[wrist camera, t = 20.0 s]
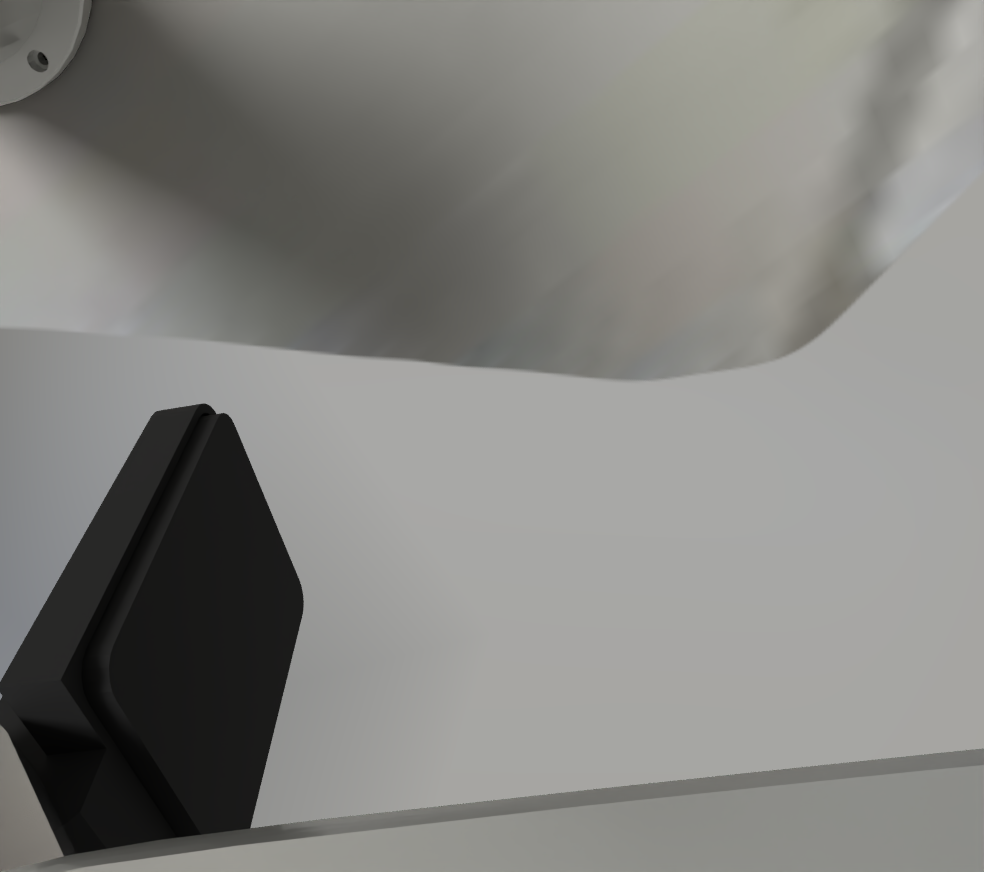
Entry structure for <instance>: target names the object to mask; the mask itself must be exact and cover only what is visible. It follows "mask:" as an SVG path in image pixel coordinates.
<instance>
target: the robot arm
mask: <svg viewBox="0 0 984 872" xmlns="http://www.w3.org/2000/svg"><path fill="white" fill-rule="evenodd" d="M91 6H92V0H0V106H2V105H6V104H9V103H13V102H17V101H20V100H22V99H24V98H26V97H28V96H30V95H31V94H33V93H35V92H37V91H39V90H41V89H42V88H43V87H45V86H46V85H47V84H49V83H50V82H51V81H53V80H54V79H55V78H57V77H58V76H59V75H60V74H61V73H62V71H63V70H64V69H65V68H66V66H67V65H68V64H69V63H70V61H71V60H72V59H73V58H74V56H75V54H76V52H77V50H78V48H79V46H80V44H81V42H82V39H83V37H84V35H85V33H86V28H87V24H88V20H89V15H90V11H91ZM42 53H43V54H44V55H45V56H46V58H47V59H48V62H47V61H45V60H44V58H43V57H42ZM303 602H304V601H303V593H302V587H301V584H300V581H299V578H298V576H297V573H296V571H295V569H294V566H293V564H292V561H291V559H290V557H289V554H288V552H287V550H286V547H285V545H284V542H283V540H282V537H281V535H280V533H279V531H278V528H277V526H276V523H275V521H274V519H273V516H272V514H271V511H270V509H269V506H268V504H267V502H266V499H265V497H264V494H263V492H262V490H261V487H260V485H259V482H258V481H257V478H256V475H255V473H254V470H253V468H252V466H251V463H250V461H249V458H248V456H247V454H246V451H245V449H244V446H243V444H242V442H241V439H240V437H239V435H238V432H237V430H236V427H235V425H234V423H233V421H232V419H231V418H230V417H229V416H228V415H227V414H225V413H221V414H216V413H215V411H214V410H213V409H212V408H211V406H209V405H207V404H198V405H192V406H186V407H179V408H173V409H167V410H161V411H157V412H155V413H154V414H153V415H152V416H151V418H150V420H149V422H148V423H147V425H146V427H145V429H144V430H143V432H142V434H141V436H140V438H139V439H138V441H137V443H136V444H135V446H134V448H133V450H132V451H131V453H130V455H129V457H128V459H127V460H126V462H125V464H124V466H123V467H122V469H121V471H120V473H119V474H118V476H117V478H116V480H115V481H114V483H113V485H112V487H111V488H110V490H109V492H108V494H107V495H106V497H105V499H104V501H103V503H102V504H101V506H100V508H99V509H98V512H97V513H96V515H95V516H94V518H93V520H92V522H91V524H90V525H89V527H88V529H87V530H86V532H85V534H84V536H83V538H82V539H81V541H80V543H79V545H78V546H77V548H76V550H75V552H74V553H73V555H72V557H71V559H70V560H69V562H68V564H67V566H66V567H65V569H64V571H63V573H62V575H61V576H60V578H59V580H58V581H57V583H56V585H55V587H54V588H53V590H52V592H51V594H50V596H49V597H48V599H47V601H46V603H45V604H44V606H43V608H42V610H41V611H40V613H39V615H38V617H37V618H36V620H35V622H34V624H33V625H32V627H31V629H30V631H29V632H28V634H27V636H26V638H25V639H24V641H23V643H22V645H21V646H20V648H19V650H18V652H17V654H16V655H15V657H14V659H13V661H12V662H11V664H10V666H9V668H8V670H7V671H6V673H5V675H4V676H3V678H2V680H1V682H0V693H1V694H2V698H1V700H0V872H984V749H976V750H966V751H955V752H946V753H936V754H927V755H917V756H907V757H897V758H888V759H878V760H869V761H860V762H849V763H840V764H831V765H820V766H811V767H802V768H792V769H783V770H773V771H763V772H754V773H744V774H735V775H726V776H716V777H707V778H697V779H687V780H678V781H668V782H659V783H649V784H640V785H631V786H621V787H612V788H602V789H593V790H584V791H576V792H566V793H556V794H548V795H539V796H529V797H520V798H511V799H502V800H493V801H484V802H475V803H466V804H457V805H448V806H439V807H430V808H420V809H412V810H402V811H393V812H385V813H375V814H366V815H357V816H348V817H339V818H331V819H321V820H313V821H306V822H297V823H290V824H282V825H274V826H266V827H259V828H250V827H251V822H252V818H253V814H254V810H255V806H256V802H257V798H258V794H259V789H260V785H261V782H262V777H263V774H264V769H265V765H266V761H267V757H268V753H269V749H270V745H271V741H272V737H273V733H274V728H275V724H276V720H277V716H278V712H279V708H280V704H281V700H282V696H283V692H284V688H285V684H286V680H287V676H288V672H289V668H290V663H291V659H292V655H293V651H294V647H295V643H296V639H297V635H298V631H299V626H300V622H301V619H302V614H303Z"/></svg>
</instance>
